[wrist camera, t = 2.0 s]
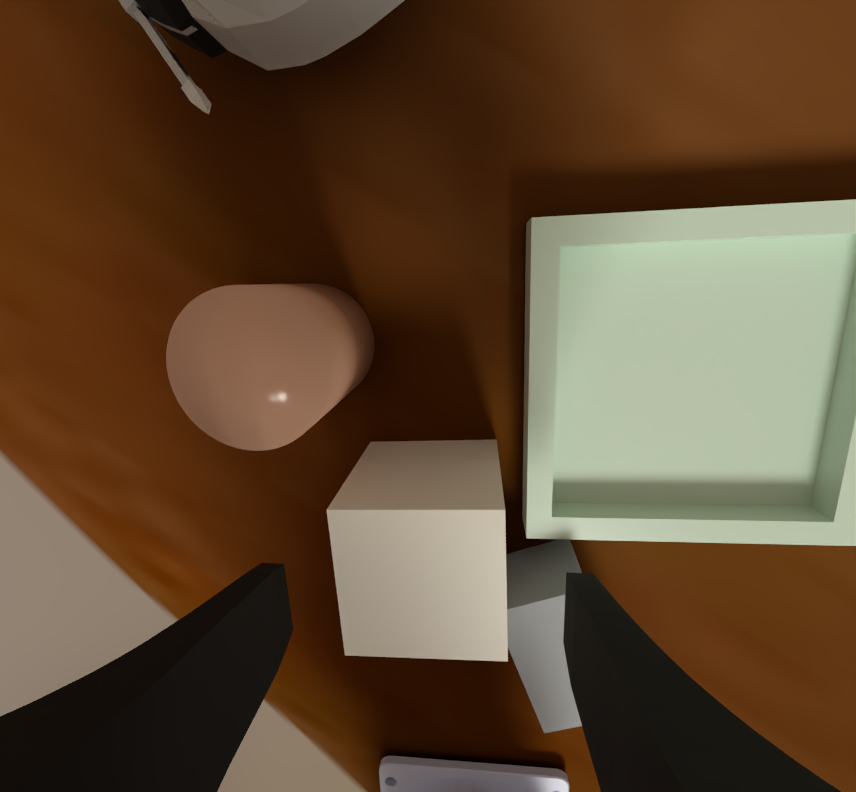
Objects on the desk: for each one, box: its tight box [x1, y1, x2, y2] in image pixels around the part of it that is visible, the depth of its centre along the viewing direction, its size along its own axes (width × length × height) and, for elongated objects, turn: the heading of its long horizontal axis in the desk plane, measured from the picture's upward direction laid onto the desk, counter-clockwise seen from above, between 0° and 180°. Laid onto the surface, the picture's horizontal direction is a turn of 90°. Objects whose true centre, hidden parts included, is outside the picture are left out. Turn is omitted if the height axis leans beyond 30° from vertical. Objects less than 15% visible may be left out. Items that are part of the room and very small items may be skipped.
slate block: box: [506, 539, 582, 733], centre depth 16 cm, size 5×3×3 cm, turn 22°
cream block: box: [327, 440, 508, 662], centre depth 14 cm, size 4×4×5 cm
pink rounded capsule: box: [166, 283, 375, 451], centre depth 13 cm, size 4×4×5 cm
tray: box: [522, 199, 856, 546], centre depth 14 cm, size 10×10×1 cm
